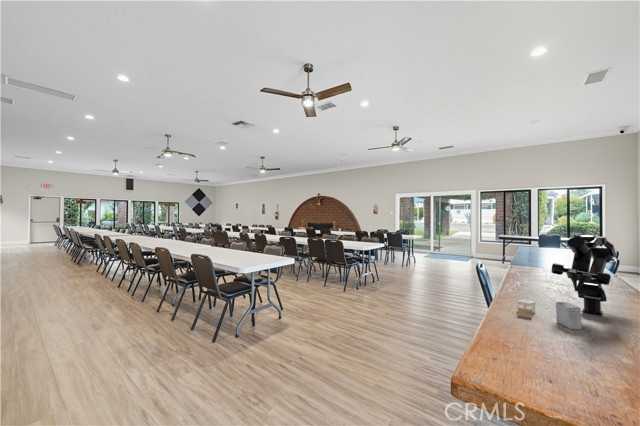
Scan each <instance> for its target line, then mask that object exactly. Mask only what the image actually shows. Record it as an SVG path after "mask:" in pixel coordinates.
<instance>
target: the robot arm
mask: <svg viewBox="0 0 640 426" xmlns="http://www.w3.org/2000/svg"><path fill="white" fill-rule="evenodd" d="M567 245H568V247H569V249H570V250H571V252H572V253H573V259H572V264H571V268H569V267H568V268H565V267H564V266H565V264H561V263H555V262H554V263H552V265H551V273H552V274H555V275H559V276H560V275H563V274H564V273H566V276H567V279H570V280H571V283H572V285H573V286H572V287H573V289H574V291H575V292H577V297H578V298H579V299H583V308H582V310H581V313H587V314H593V315H597V316H598V315H599V316H603V314H604V313H603V310H602V303H603V302H606V303H607V298H608V297H607V295H606V292H605V290H604V288H603V286H602V285H604V286H605V285H606V286H609V285H610V282H611V278H612V277H611V274H610V273H606V272H604V271H605V268H606V265H607V264H608V263H609V262H612V261H613V259H614V257H615V256H616V249H615V246H614V244H612V243H611V242H610V241H608V240H607V237H605V236H595V235H584V234H583V235H582V234H574V236H572V237H571V238H569V239H568V240H567ZM591 261H592V262H591ZM591 263H592V264H591Z"/></svg>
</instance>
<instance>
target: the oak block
mask: <svg viewBox="0 0 640 426" xmlns="http://www.w3.org/2000/svg"><path fill="white" fill-rule="evenodd" d="M517 316H518V317H523V318H529V319H532V318H533V313H532V307H530V306H524V305H519V306H518V305H517Z"/></svg>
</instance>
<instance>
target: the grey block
mask: <svg viewBox="0 0 640 426" xmlns="http://www.w3.org/2000/svg"><path fill="white" fill-rule="evenodd" d="M519 305H524V306H530V307H532V314H535V313H536V301H533V300H527V299H518V300H517V307H518V306H519Z"/></svg>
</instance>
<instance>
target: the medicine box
mask: <svg viewBox="0 0 640 426" xmlns="http://www.w3.org/2000/svg"><path fill="white" fill-rule="evenodd" d="M555 306H556V307H555V312H556V322H557V323H558V324H560V325H561V326H564V327H566V328H567V329H569V330H579V331H580V330H582V328H583V327H582V310H581V307H579V306H577V305H575V304H572V303H569V302H566V301H556V302H555Z"/></svg>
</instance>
